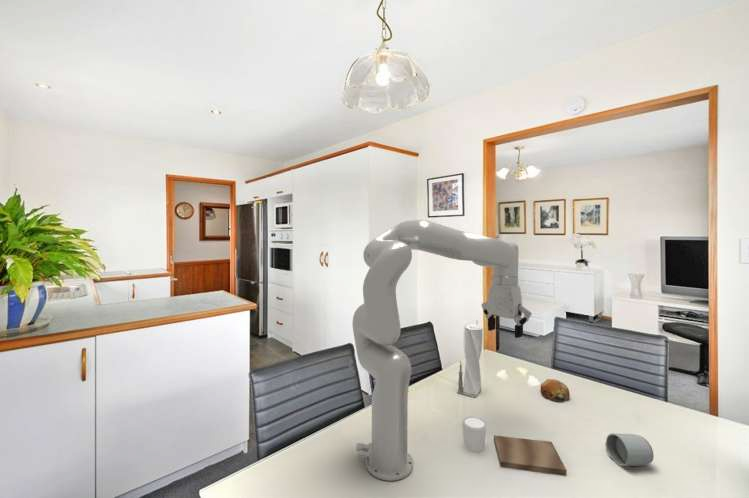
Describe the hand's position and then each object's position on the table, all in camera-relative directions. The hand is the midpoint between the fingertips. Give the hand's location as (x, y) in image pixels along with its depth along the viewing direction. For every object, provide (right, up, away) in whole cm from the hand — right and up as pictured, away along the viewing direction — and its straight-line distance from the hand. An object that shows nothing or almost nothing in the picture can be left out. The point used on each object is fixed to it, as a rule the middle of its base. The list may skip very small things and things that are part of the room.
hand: (504, 333), depth 109 cm
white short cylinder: (-13, -30, -11) cm, 35 cm away
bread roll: (+27, -29, +20) cm, 44 cm away
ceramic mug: (+26, -31, -17) cm, 44 cm away
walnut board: (0, -30, -16) cm, 34 cm away
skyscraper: (-4, -29, +23) cm, 37 cm away
